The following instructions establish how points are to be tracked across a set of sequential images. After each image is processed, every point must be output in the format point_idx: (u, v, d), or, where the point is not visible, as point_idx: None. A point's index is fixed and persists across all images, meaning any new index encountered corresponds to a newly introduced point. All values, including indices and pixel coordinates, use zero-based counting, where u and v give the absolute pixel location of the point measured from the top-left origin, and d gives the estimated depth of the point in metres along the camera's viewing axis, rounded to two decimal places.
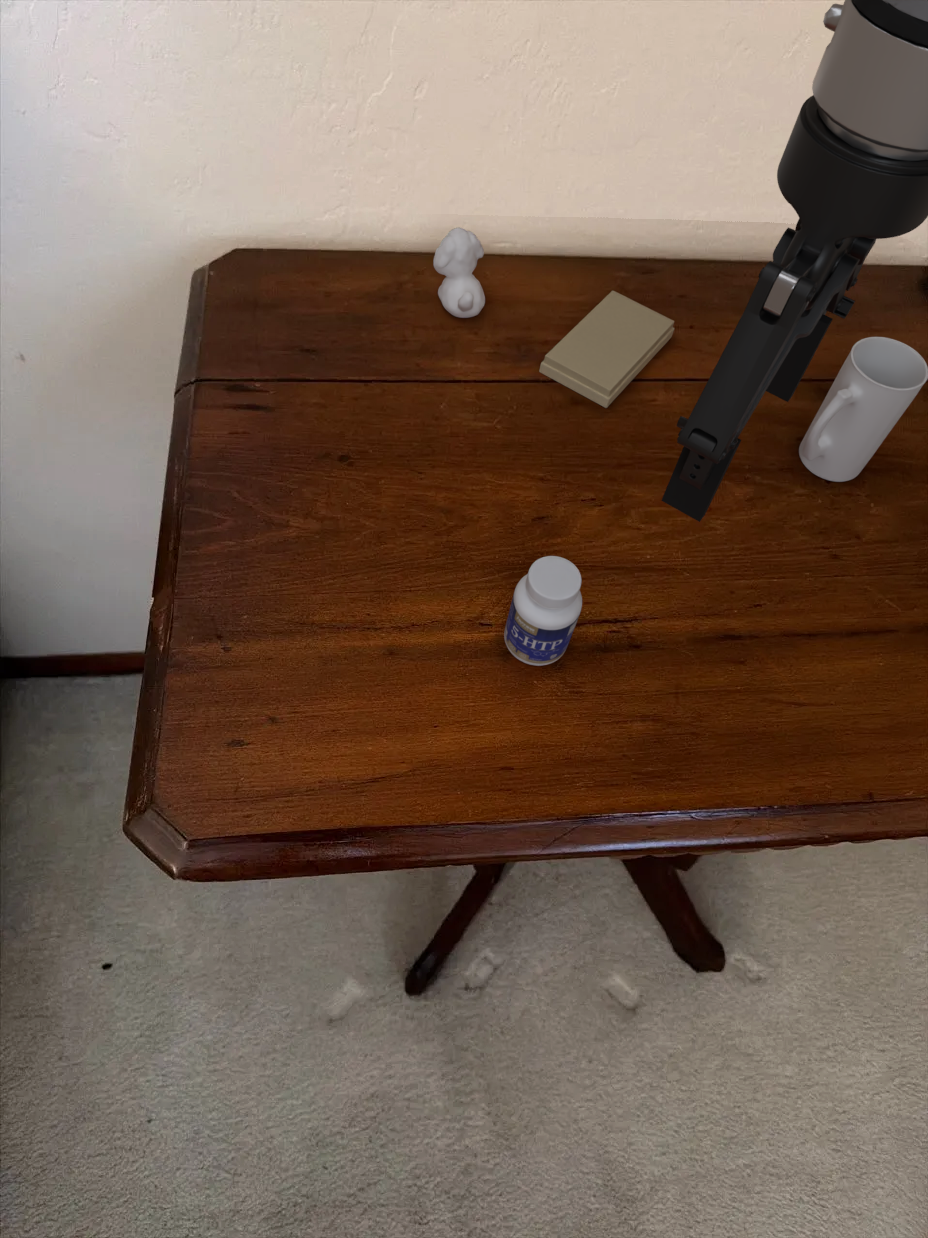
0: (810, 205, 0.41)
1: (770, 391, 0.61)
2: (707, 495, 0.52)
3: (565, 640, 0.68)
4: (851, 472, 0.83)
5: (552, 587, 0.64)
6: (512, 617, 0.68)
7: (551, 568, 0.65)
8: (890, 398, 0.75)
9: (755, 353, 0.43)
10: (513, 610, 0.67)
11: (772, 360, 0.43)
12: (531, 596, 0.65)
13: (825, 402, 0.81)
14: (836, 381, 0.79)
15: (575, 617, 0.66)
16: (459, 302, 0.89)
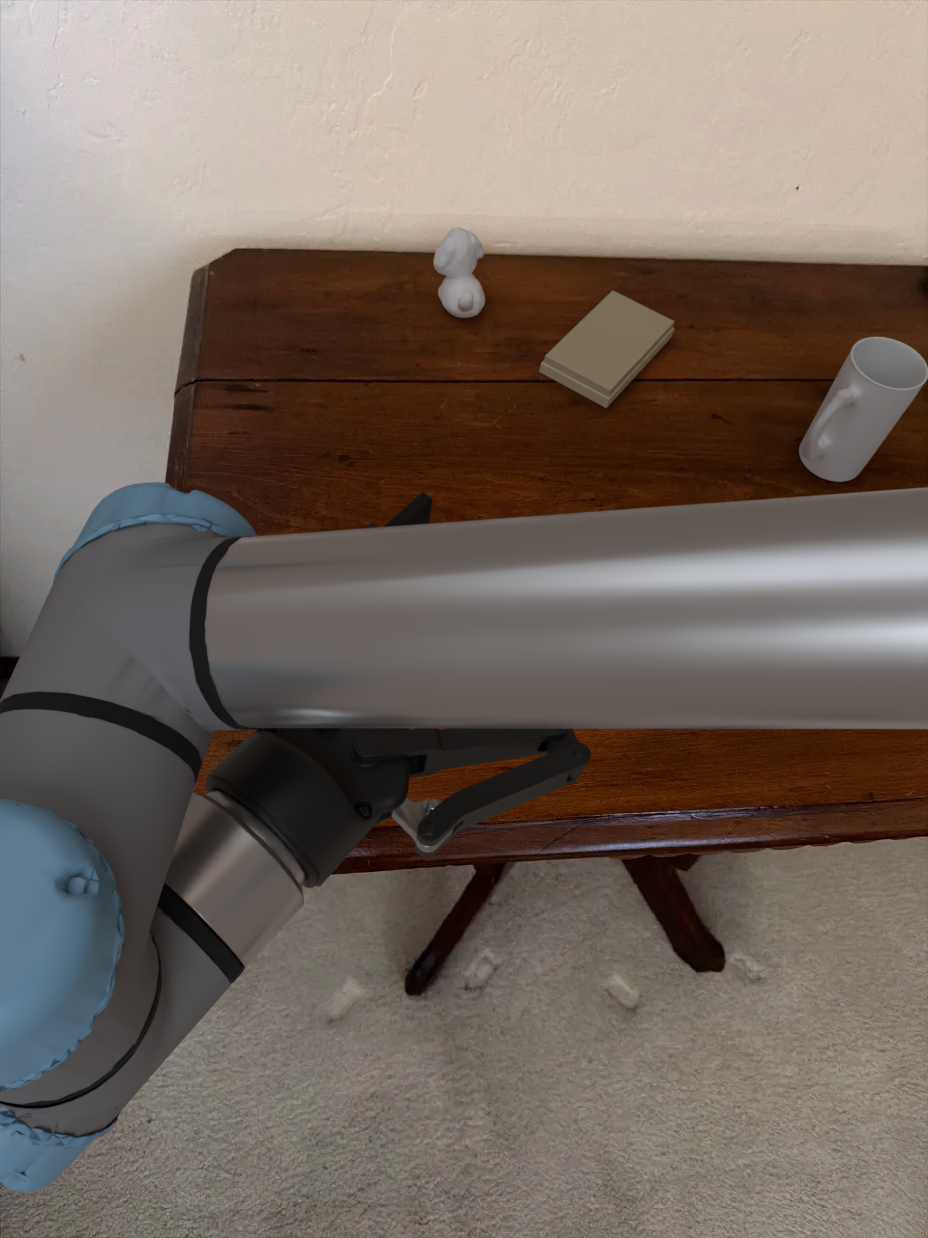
0: None
1: (429, 514, 0.54)
2: None
3: None
4: (851, 472, 0.83)
5: None
6: None
7: None
8: (890, 398, 0.75)
9: (490, 809, 0.44)
10: None
11: (492, 802, 0.43)
12: None
13: (825, 402, 0.81)
14: (836, 381, 0.79)
15: None
16: (459, 302, 0.89)
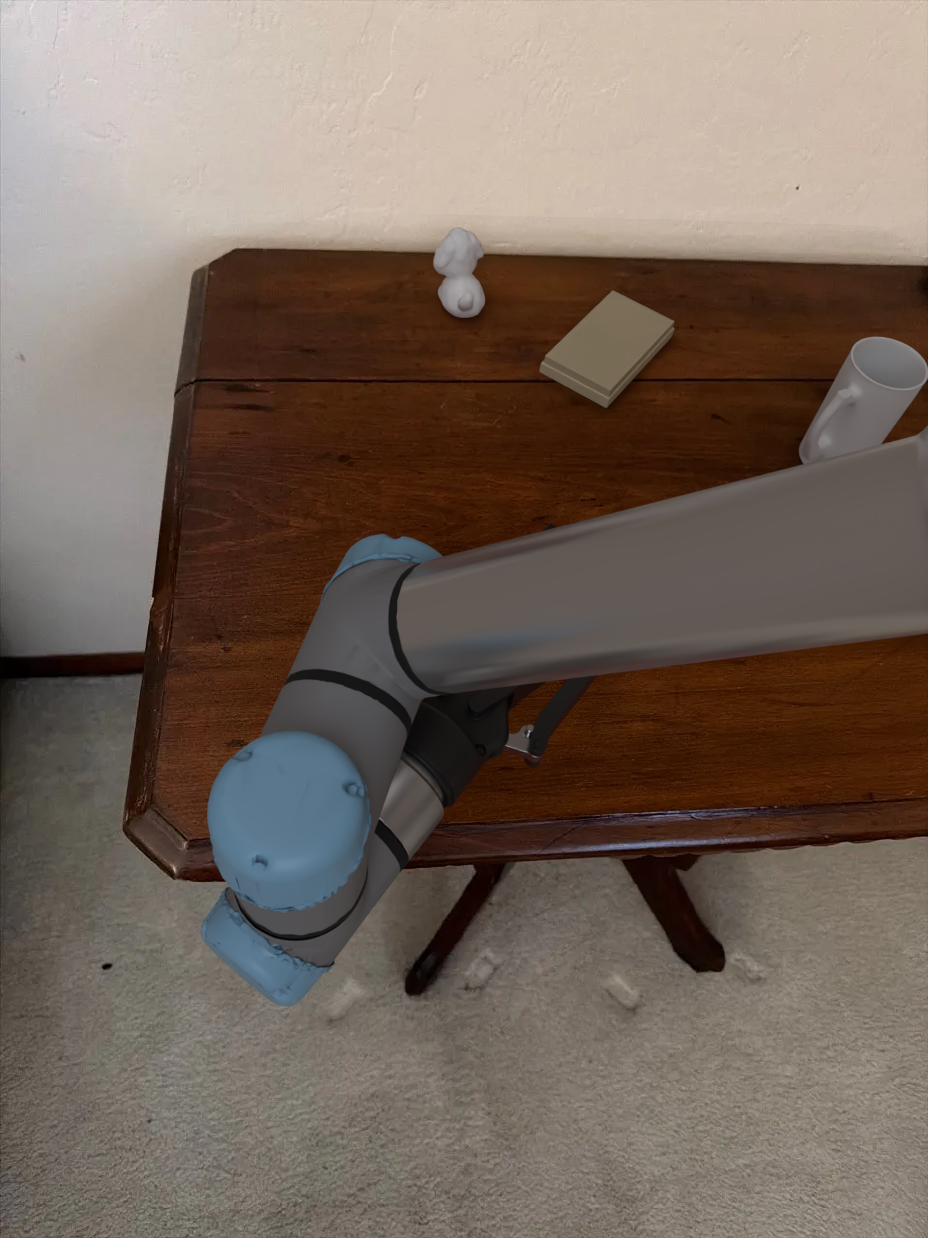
0: None
1: None
2: None
3: None
4: None
5: None
6: None
7: None
8: (890, 398, 0.75)
9: (563, 715, 0.61)
10: None
11: (564, 710, 0.60)
12: None
13: (825, 402, 0.81)
14: (836, 381, 0.79)
15: None
16: (459, 302, 0.89)
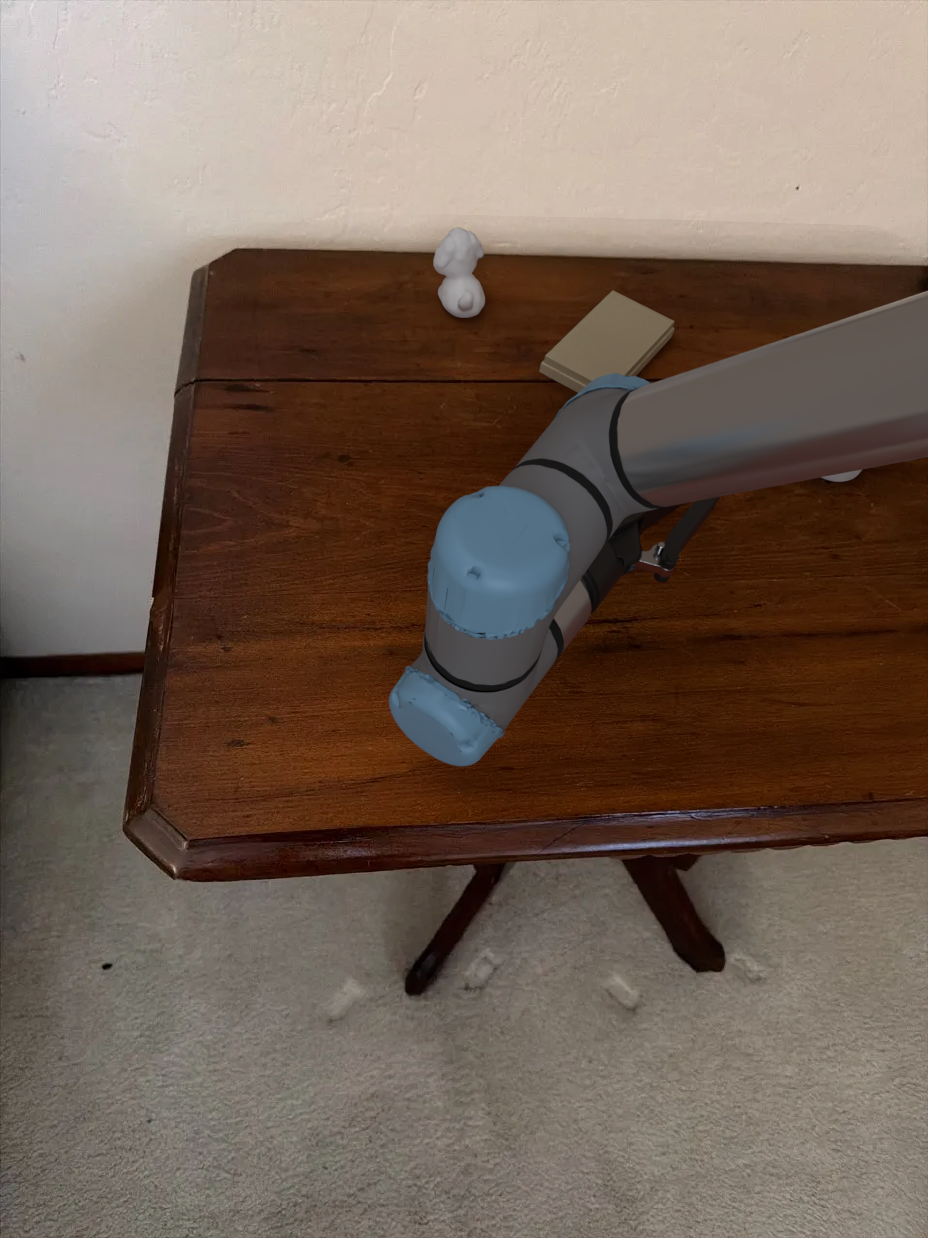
0: None
1: None
2: None
3: None
4: (851, 472, 0.83)
5: None
6: None
7: None
8: None
9: (688, 537, 0.68)
10: None
11: (690, 531, 0.67)
12: None
13: None
14: None
15: None
16: (459, 302, 0.89)
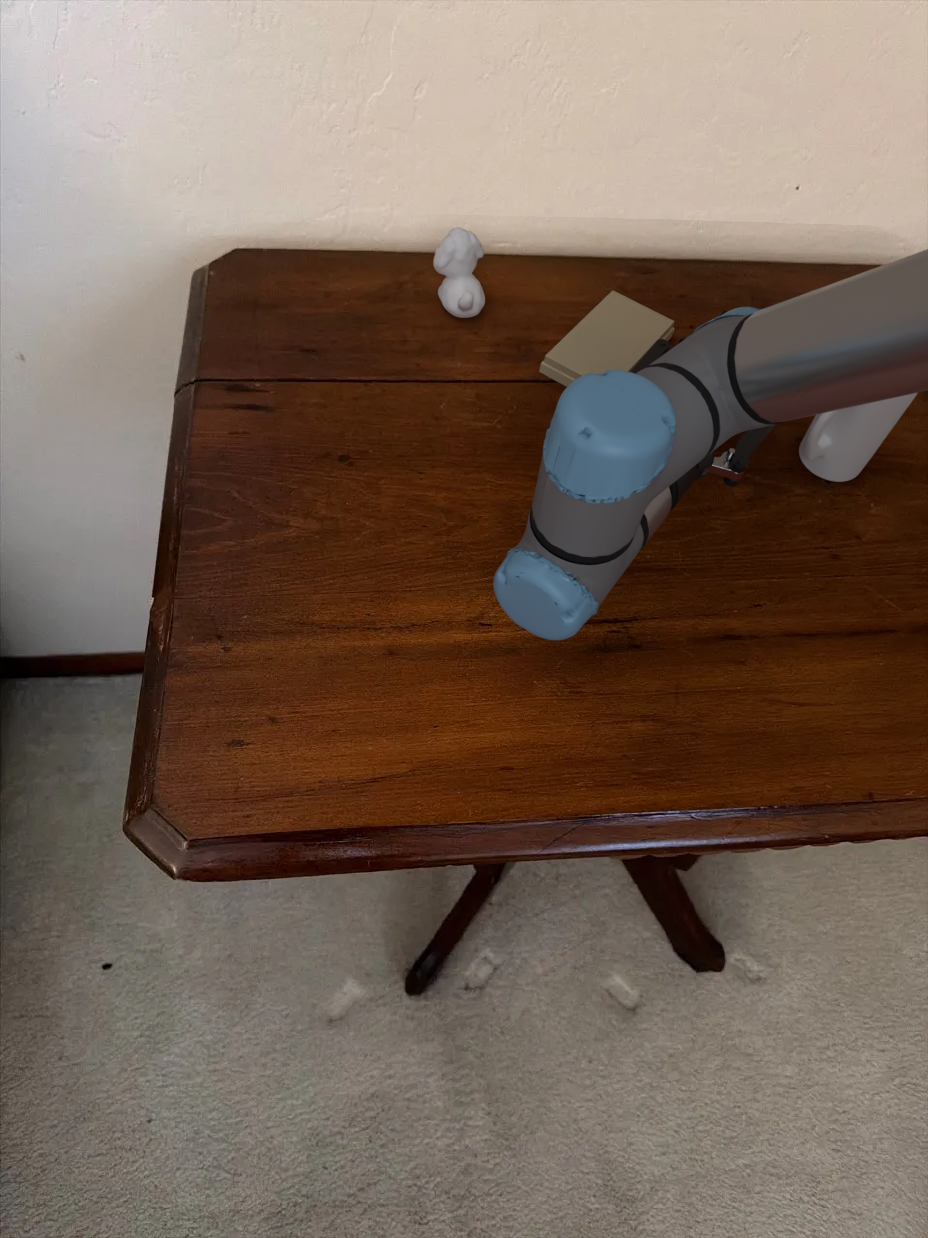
0: None
1: None
2: None
3: None
4: (851, 472, 0.83)
5: None
6: None
7: None
8: None
9: (754, 446, 0.74)
10: None
11: (758, 439, 0.73)
12: None
13: None
14: None
15: None
16: (459, 302, 0.89)
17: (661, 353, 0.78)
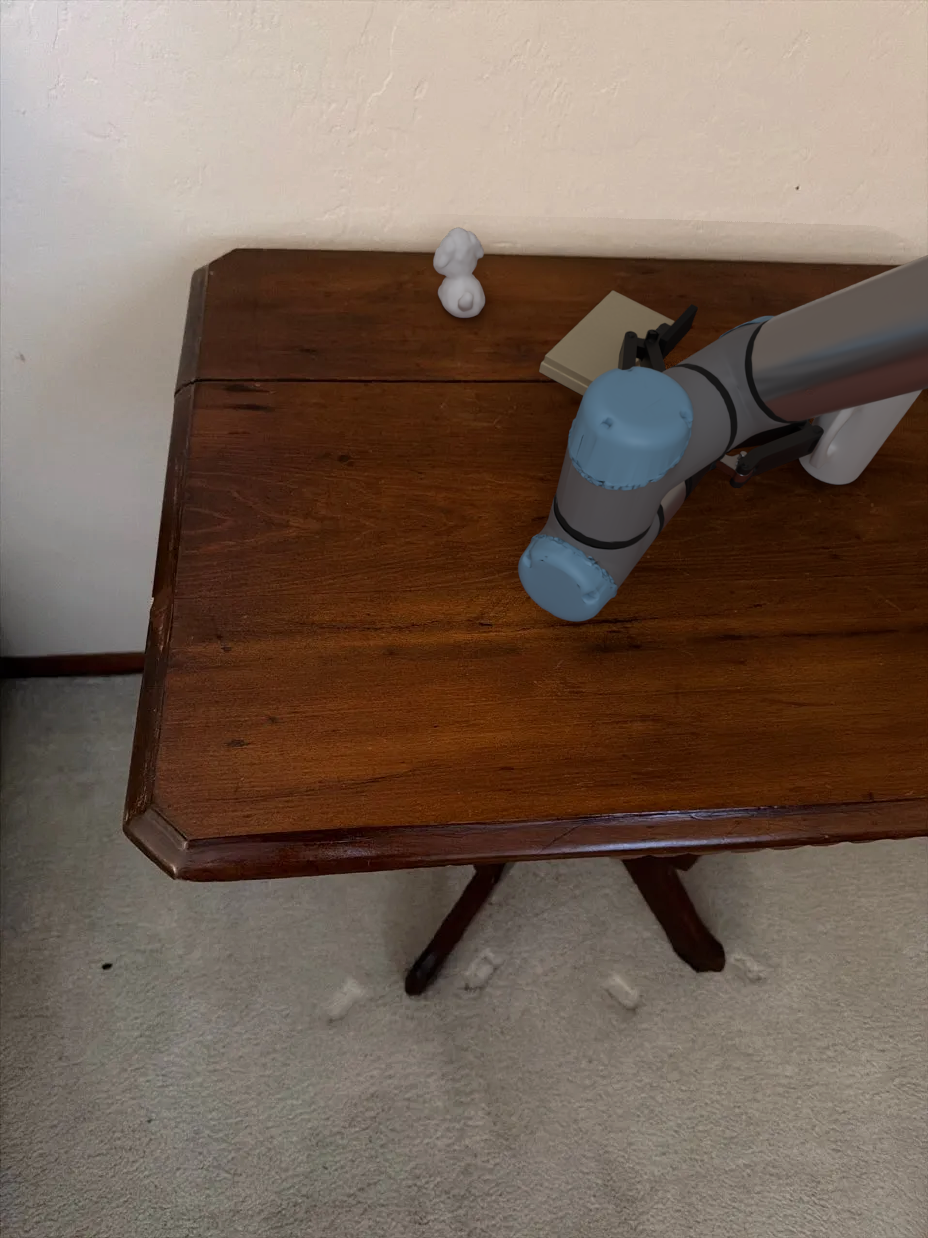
0: None
1: (693, 319, 0.86)
2: None
3: None
4: (855, 473, 0.83)
5: None
6: None
7: None
8: (898, 401, 0.75)
9: (772, 459, 0.76)
10: None
11: (775, 452, 0.76)
12: None
13: None
14: None
15: None
16: (459, 302, 0.89)
17: (635, 345, 0.82)
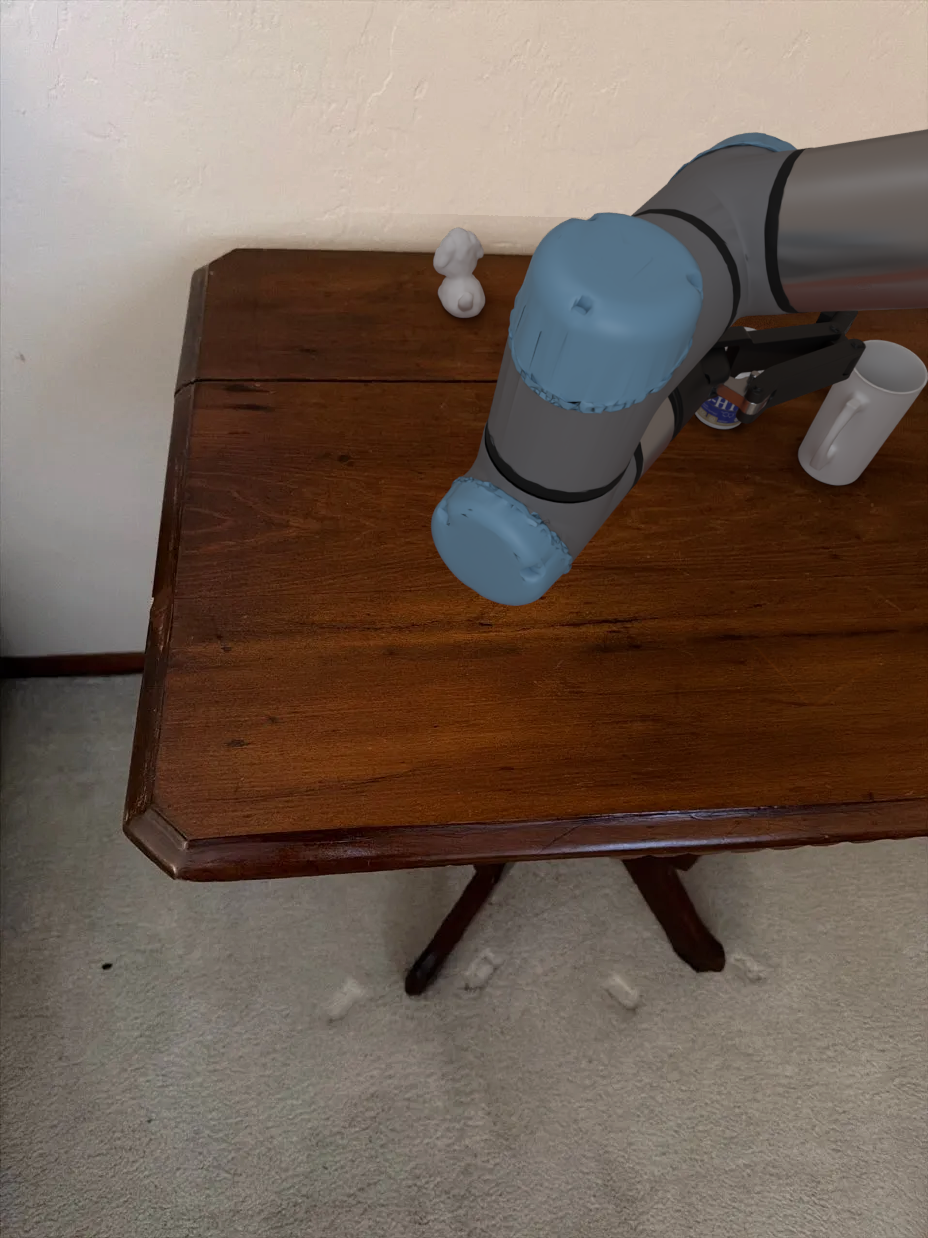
0: None
1: None
2: None
3: None
4: (856, 474, 0.83)
5: None
6: None
7: None
8: (897, 402, 0.75)
9: (794, 384, 0.55)
10: None
11: (799, 373, 0.55)
12: None
13: (825, 411, 0.80)
14: (836, 390, 0.78)
15: None
16: (459, 302, 0.89)
17: None
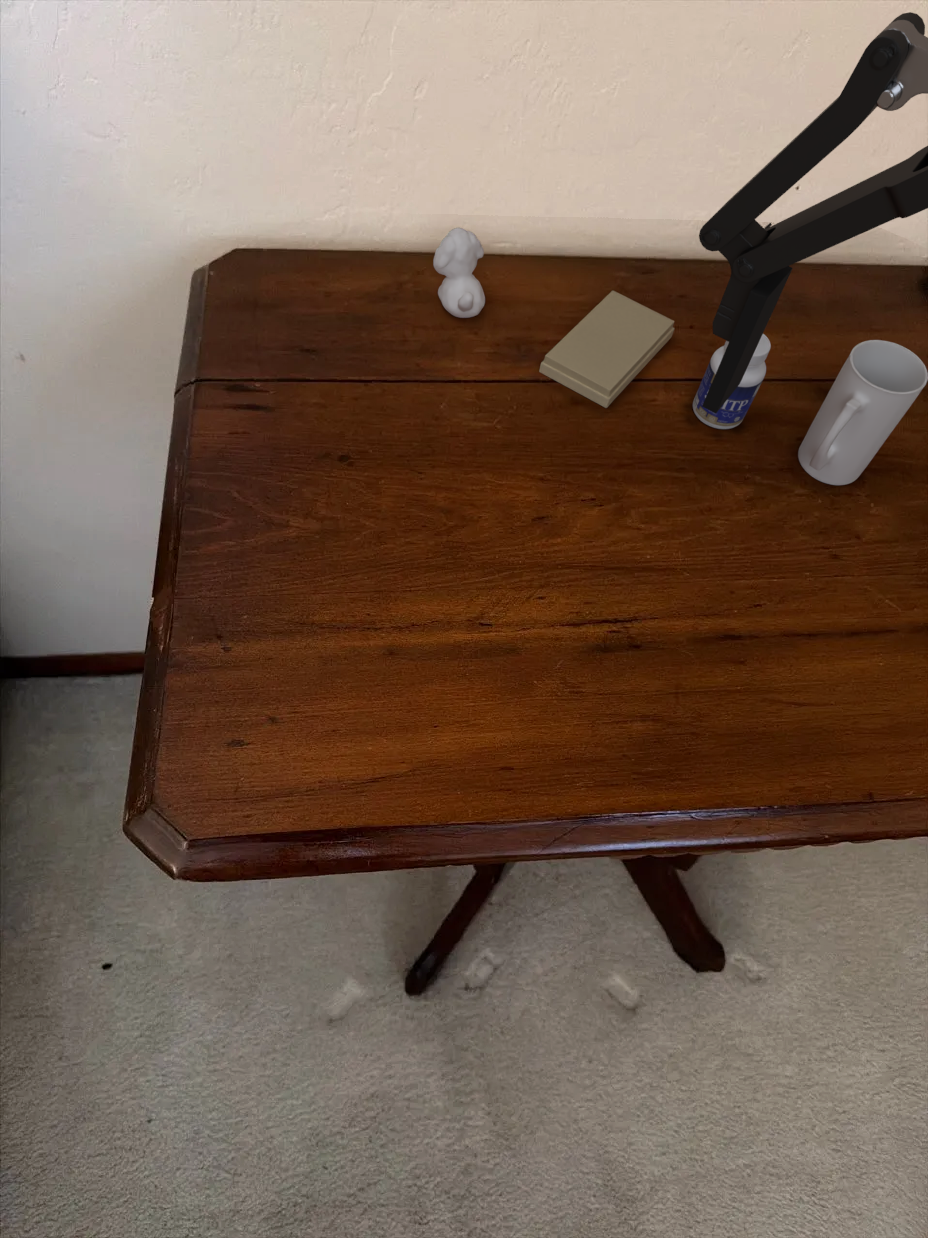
0: None
1: None
2: None
3: (749, 402, 0.85)
4: (856, 474, 0.83)
5: None
6: (708, 382, 0.84)
7: None
8: (897, 402, 0.75)
9: (811, 122, 0.32)
10: (710, 375, 0.83)
11: (803, 131, 0.32)
12: None
13: (825, 411, 0.80)
14: (836, 390, 0.78)
15: (762, 377, 0.82)
16: (459, 302, 0.89)
17: None
